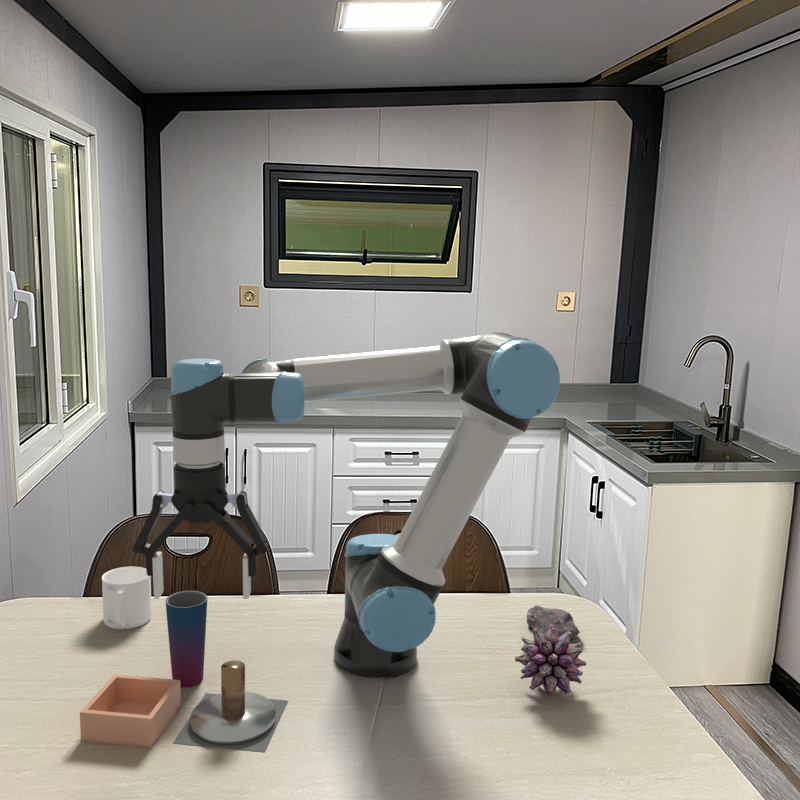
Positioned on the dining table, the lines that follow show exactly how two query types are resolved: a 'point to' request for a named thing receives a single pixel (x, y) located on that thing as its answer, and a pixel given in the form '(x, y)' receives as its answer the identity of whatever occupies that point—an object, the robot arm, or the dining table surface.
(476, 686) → the dining table surface
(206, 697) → the mat
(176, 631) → the cup
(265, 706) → the lid
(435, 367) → the robot arm
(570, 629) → the rock
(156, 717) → the dish
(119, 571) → the mug
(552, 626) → the flower
